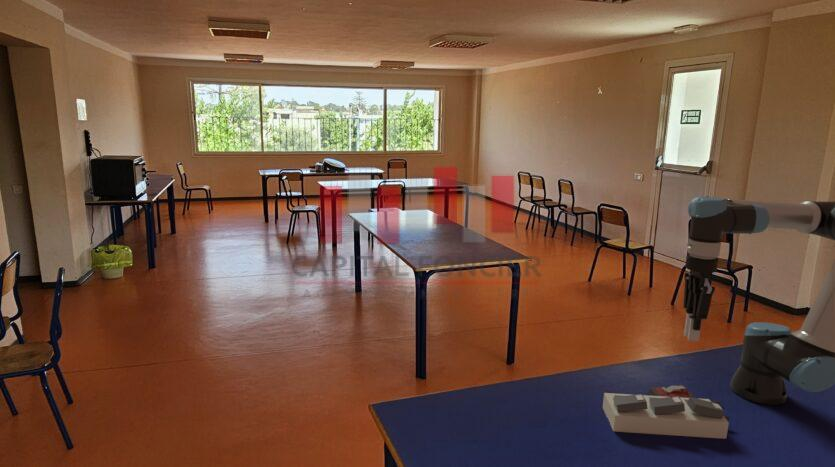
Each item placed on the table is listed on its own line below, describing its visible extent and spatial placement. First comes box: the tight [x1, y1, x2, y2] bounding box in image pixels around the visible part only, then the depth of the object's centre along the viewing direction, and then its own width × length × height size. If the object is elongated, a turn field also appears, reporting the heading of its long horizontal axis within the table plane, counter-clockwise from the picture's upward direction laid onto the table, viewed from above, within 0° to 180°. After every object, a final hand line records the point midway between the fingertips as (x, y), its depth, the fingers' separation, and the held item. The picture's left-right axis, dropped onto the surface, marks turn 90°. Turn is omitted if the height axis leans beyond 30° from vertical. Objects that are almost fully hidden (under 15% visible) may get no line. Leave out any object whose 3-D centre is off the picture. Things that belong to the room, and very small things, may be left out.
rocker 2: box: [649, 396, 685, 415], centre depth 144 cm, size 8×4×3 cm, turn 84°
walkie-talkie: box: [648, 384, 721, 405], centre depth 160 cm, size 9×4×20 cm
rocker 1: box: [613, 393, 647, 413], centre depth 145 cm, size 8×4×3 cm, turn 84°
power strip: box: [602, 392, 730, 440], centre depth 148 cm, size 33×12×5 cm, turn 84°
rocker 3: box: [687, 397, 726, 419], centre depth 143 cm, size 8×4×3 cm, turn 85°
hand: (691, 337), depth 142 cm, fingers open, 2 cm apart
